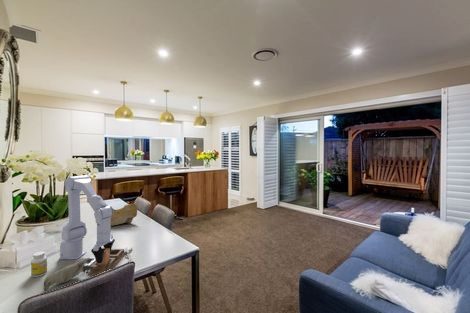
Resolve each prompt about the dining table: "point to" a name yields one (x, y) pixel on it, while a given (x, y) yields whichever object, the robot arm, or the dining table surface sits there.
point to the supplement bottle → (38, 264)
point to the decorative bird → (65, 274)
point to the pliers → (128, 254)
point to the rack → (114, 259)
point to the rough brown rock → (124, 214)
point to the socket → (88, 261)
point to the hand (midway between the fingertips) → (103, 258)
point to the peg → (105, 257)
